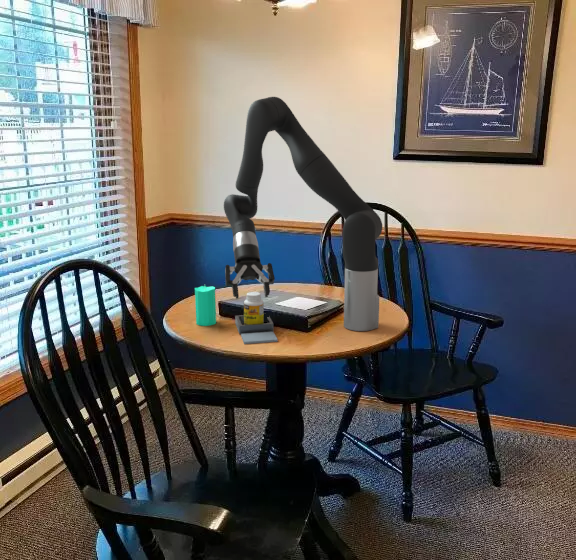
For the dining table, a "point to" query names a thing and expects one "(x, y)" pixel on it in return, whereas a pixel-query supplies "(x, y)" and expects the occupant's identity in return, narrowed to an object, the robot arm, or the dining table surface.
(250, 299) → the supplement bottle
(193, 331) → the dining table surface
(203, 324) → the candle
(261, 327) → the iron collar
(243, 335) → the slate mat
